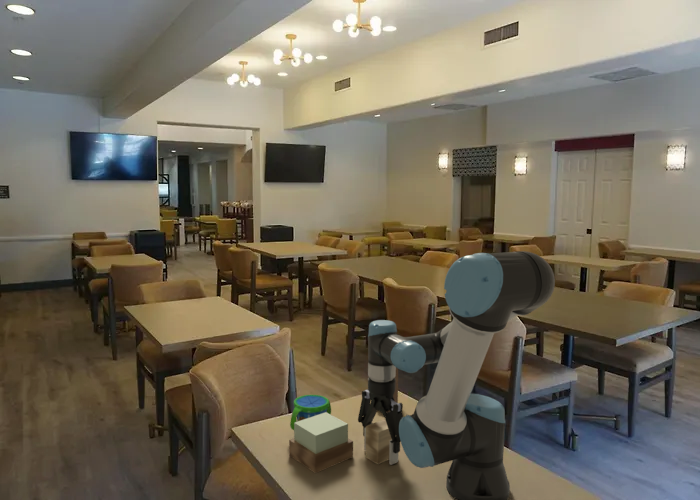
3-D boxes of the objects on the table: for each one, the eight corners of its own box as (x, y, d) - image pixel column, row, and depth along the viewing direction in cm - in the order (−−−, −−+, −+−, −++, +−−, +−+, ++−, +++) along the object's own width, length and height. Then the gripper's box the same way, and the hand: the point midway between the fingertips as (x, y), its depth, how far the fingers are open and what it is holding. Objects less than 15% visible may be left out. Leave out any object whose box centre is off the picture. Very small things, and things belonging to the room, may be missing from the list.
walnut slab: (353, 458, 145) (353, 441, 144) (315, 474, 136) (315, 456, 136) (326, 442, 154) (326, 426, 153) (289, 457, 146) (289, 439, 145)
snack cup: (319, 419, 168) (319, 389, 167) (342, 430, 161) (342, 398, 160) (280, 435, 157) (279, 402, 156) (302, 447, 150) (301, 413, 149)
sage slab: (348, 441, 144) (348, 423, 144) (315, 453, 137) (315, 435, 137) (325, 428, 152) (325, 412, 151) (294, 440, 145) (294, 422, 144)
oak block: (396, 456, 145) (396, 425, 144) (378, 464, 141) (378, 432, 140) (383, 449, 149) (384, 419, 148) (365, 457, 145) (365, 426, 144)
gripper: (421, 385, 137) (419, 467, 139) (364, 364, 153) (364, 437, 156) (401, 392, 132) (400, 476, 134) (345, 369, 149) (344, 445, 151)
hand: (380, 455), depth 145 cm, fingers open, 9 cm apart
